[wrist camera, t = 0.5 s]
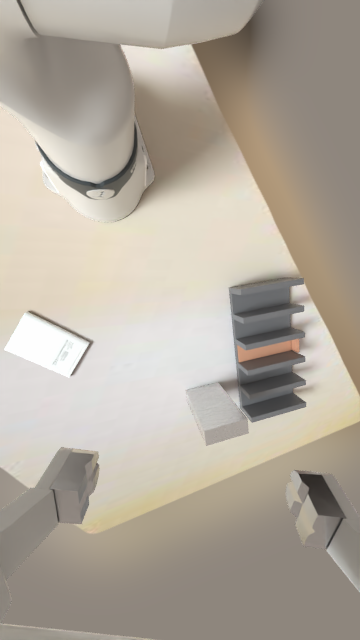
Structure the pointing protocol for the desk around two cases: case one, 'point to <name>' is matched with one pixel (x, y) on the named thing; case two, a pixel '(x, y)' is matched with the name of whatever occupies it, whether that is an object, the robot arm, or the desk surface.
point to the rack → (266, 347)
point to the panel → (216, 413)
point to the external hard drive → (46, 344)
